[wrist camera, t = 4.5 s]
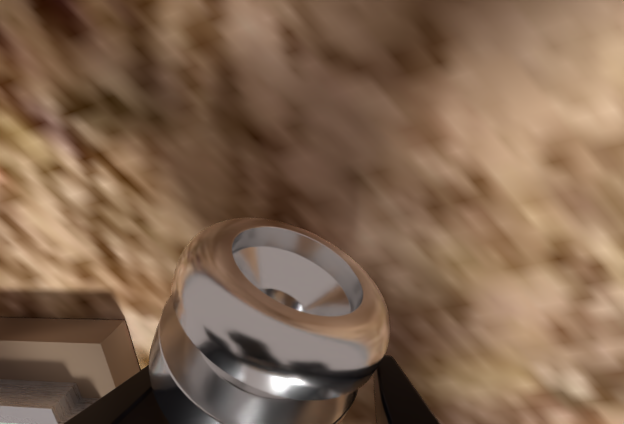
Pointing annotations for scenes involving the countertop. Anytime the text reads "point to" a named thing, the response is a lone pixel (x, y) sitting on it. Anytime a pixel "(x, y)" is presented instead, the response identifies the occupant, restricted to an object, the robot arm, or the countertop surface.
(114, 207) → the countertop surface
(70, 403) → the rail guides
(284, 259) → the metal grooved wheel
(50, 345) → the rail board
